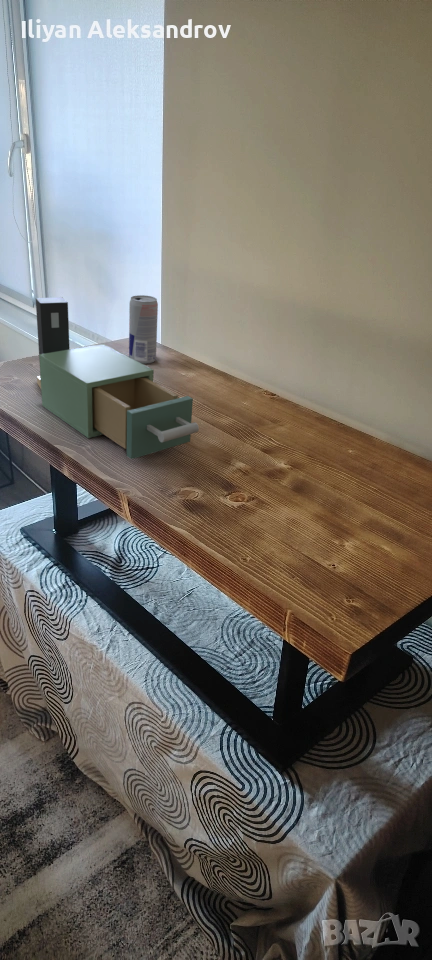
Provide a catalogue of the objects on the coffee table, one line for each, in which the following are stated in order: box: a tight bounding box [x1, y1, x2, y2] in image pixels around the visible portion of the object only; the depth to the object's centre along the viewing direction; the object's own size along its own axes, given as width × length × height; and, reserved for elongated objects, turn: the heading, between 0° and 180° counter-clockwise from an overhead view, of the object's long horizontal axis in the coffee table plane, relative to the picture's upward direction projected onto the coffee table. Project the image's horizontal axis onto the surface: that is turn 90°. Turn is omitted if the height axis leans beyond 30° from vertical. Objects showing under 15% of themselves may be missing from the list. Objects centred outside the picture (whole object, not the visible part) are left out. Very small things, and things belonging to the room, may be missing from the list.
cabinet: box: [38, 343, 155, 439], centre depth 98 cm, size 14×12×9 cm
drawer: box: [92, 377, 200, 460], centre depth 90 cm, size 17×10×7 cm, turn 41°
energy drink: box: [128, 294, 159, 365], centre depth 121 cm, size 5×5×12 cm
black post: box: [35, 296, 71, 390], centre depth 104 cm, size 5×5×15 cm
